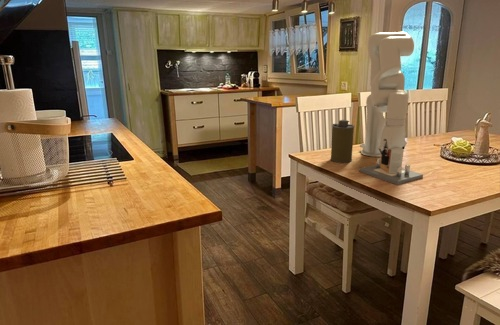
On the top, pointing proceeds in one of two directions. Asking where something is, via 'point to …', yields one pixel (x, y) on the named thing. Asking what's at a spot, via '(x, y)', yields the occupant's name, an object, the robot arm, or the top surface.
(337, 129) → the canister
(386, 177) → the pin board
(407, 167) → the guide pins
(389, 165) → the small box
